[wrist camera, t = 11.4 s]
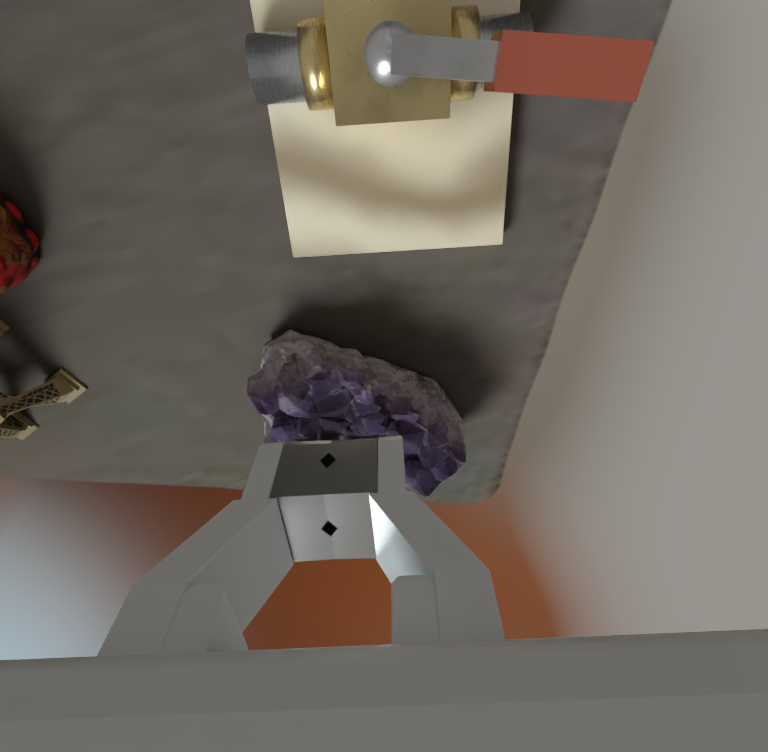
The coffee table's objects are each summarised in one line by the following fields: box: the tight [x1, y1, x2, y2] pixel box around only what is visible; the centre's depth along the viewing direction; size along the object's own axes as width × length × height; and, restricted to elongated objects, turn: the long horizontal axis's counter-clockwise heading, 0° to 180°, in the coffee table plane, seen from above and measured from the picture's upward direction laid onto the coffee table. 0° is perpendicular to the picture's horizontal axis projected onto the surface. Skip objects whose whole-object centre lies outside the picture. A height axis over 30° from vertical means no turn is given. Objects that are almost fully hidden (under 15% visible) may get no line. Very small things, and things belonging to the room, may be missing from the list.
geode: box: [247, 330, 466, 496], centre depth 41 cm, size 20×12×10 cm, turn 72°
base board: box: [250, 0, 520, 258], centre depth 30 cm, size 24×16×2 cm, turn 4°
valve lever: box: [364, 20, 654, 102], centre depth 23 cm, size 13×3×3 cm, turn 87°
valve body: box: [246, 0, 533, 126], centre depth 27 cm, size 6×16×6 cm, turn 94°
